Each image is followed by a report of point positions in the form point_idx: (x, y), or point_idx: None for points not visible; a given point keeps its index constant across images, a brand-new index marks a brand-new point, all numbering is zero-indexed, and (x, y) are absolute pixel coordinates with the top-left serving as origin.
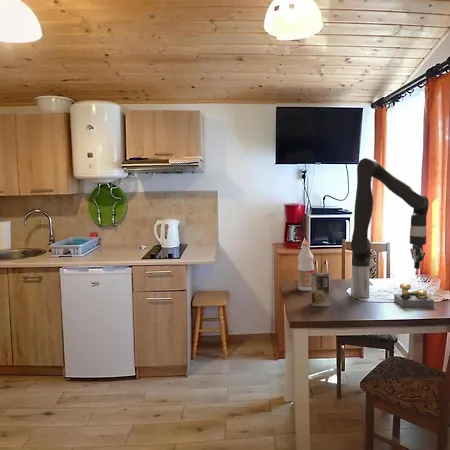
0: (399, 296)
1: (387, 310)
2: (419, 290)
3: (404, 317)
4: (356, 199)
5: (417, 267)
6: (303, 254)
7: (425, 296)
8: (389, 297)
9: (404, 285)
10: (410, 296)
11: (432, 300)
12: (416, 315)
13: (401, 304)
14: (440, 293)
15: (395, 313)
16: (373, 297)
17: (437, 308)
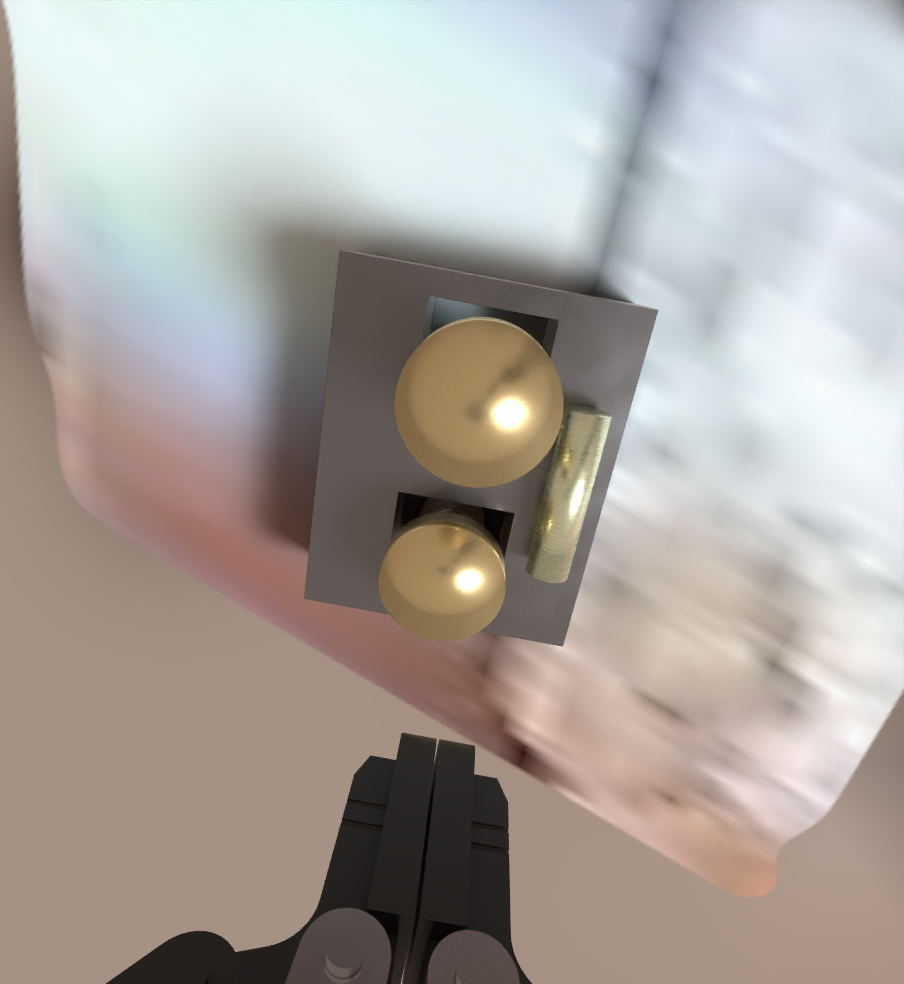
0: (519, 311)
1: (315, 16)
2: (483, 584)
3: (58, 98)
4: None
5: (360, 785)
6: None
7: None
8: (790, 328)
9: (459, 379)
10: None
11: (306, 585)
12: (123, 274)
13: (384, 257)
14: (713, 844)
15: (197, 63)
16: (880, 110)
17: None
